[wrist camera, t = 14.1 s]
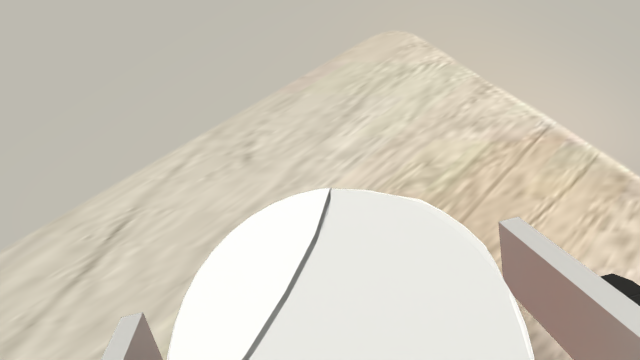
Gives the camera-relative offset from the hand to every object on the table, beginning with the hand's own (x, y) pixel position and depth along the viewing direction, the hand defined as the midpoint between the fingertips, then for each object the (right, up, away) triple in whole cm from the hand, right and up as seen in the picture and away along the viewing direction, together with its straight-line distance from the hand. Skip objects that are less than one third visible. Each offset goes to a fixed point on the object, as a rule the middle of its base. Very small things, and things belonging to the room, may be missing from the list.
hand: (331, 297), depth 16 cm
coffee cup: (+1, -6, +6) cm, 8 cm away
